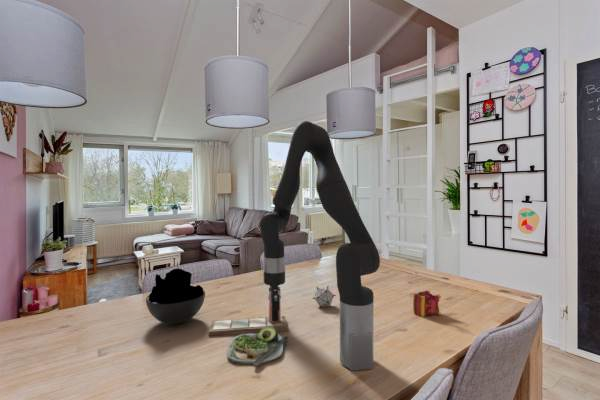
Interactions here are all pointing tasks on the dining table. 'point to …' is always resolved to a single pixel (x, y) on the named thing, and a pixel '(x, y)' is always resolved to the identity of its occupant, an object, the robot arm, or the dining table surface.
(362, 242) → the robot arm
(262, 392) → the dining table surface
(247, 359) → the salad plate
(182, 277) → the coal bowl
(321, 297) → the game die
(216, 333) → the board
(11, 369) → the dining table surface
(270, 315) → the pawn
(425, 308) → the book monster
